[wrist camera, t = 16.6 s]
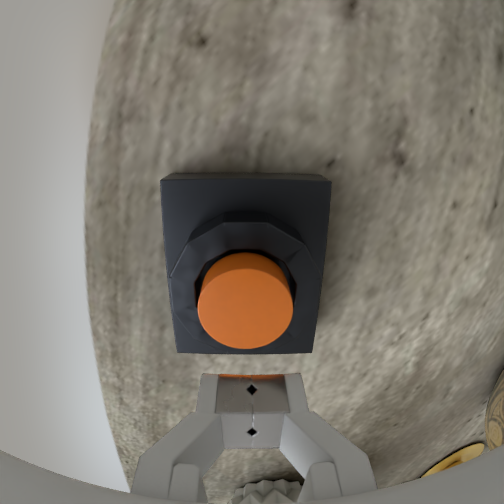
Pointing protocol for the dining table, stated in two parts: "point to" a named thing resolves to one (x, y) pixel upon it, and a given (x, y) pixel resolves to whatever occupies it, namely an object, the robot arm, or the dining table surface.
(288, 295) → the flush button
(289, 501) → the vase
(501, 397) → the ceramic bowl
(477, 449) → the cup
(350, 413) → the dining table surface
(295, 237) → the push button housing
